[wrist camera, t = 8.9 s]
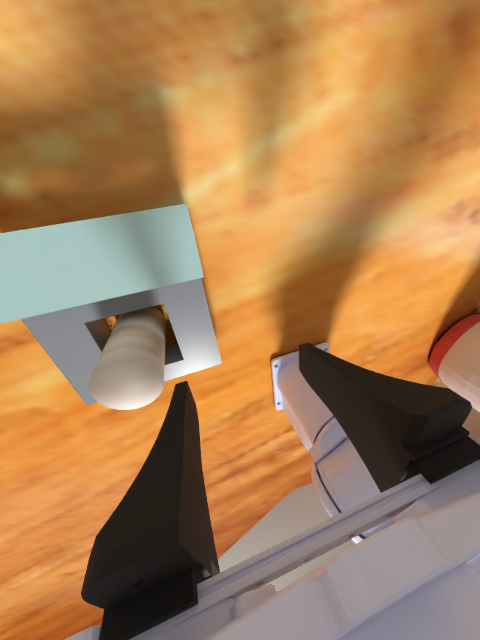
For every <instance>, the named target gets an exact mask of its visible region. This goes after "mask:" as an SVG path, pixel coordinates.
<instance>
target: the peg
mask: <svg viewBox="0 0 480 640" xmlns="http://www.w3.org/2000/svg"><path fill="white" fill-rule="evenodd" d="M165 336H166V320H165V317H164V315H163V314H162V312H161V311H160V310H159V309H157V308H156V307H154V306H152V307H148V308H144V309H140V310H135V311H131V312H127V313H123V314H120V315H119V317H118V320H117V322H116V324H115V326H114V328H113V330H112V332H111V334H110V336H109V339H108V341H107V343H106V345H105V347H104V349H103V351H102V353H101V355H100V357H99V360H98V362H97V364H96V366H95V368H94V370H93V372H92V374H91V376H90V379H89V383H88V388H89V392H90V394H91V395H92V397H93V398H94V399H95V400H96V401H97V402H98V403H100V404H102V405H104V406H106V407H109V408H112V409H119V410H130V409H136V408H140V407H143V406H145V405H147V404H149V403H151V402H152V401H154V400H155V399H156V398H157V397H158V396H159V395H160V393H161V392H162V390H163V386H164V366H165Z"/></svg>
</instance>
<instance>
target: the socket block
mask: <svg viewBox="0 0 480 640" xmlns="http://www.w3.org/2000/svg"><path fill="white" fill-rule="evenodd" d="M203 277H204V275H203V271H202V266H201V262H200V258H199V253H198V249H197V245H196V241H195V236H194V232H193V228H192V224H191V219H190V215H189V211H188V207H187V204H180V205H174V206H168V207H162V208H155V209H149V210H143V211H137V212H130V213H124V214H118V215H112V216H106V217H99V218H93V219H87V220H81V221H74V222H68V223H62V224H56V225H49V226H43V227H37V228H31V229H24V230H18V231H12V232H6V233H0V324H1V323H6V322H10V321H14V320H19V319H21V320H22V321H23V322H24V324H25V325H26V326H27V328H28V329H29V330H30V331H31V333H32V334H33V335H34V337H35V338H36V339H37V341H38V342H39V343H40V345H41V346H42V347H43V348H44V350H45V351H46V352H47V354H48V355H49V356H50V358H51V359H52V360H53V361H54V363H55V364H56V365H57V367H58V368H59V369H60V371H61V372H62V373H63V374H64V376H65V377H66V378H67V380H68V381H69V382H70V384H71V385H72V386H73V388H74V389H75V390H76V391H77V393H78V394H79V395H80V397H81V398H82V399H83V401H84V402H85V403H86V404H87V405H89V404H92V403H96V402H97V401H96V400H95V399H94V398H93V397H92V395H91V394H90V392H89V388H88V383H89V379H90V376H91V374H92V372H93V370H94V368H95V366H96V364H97V362H98V360H99V357H100V355H101V353H102V351H103V349H104V347H105V345H106V343H107V341H108V339H109V336H110V334H111V332H110V330H109V329H108V327H107V325H106V323H105V321H104V319H103V318H107V317H111V316H115V315H119V314H123V313H127V312H131V311H135V310H140V309H144V308H148V307H152V306H156V305H160V304H164V305H165V308H166V311H167V314H168V317H169V319H170V322H171V325H172V328H173V330H174V333H175V336H176V339H177V342H178V343H176V344H173V345H169V346H166V347H165V366H164V381H167V380H170V379H173V378H176V377H180V376H183V375H186V374H189V373H193V372H196V371H199V370H202V369H206V368H209V367H212V366H215V365H219V364H222V361H221V357H220V353H219V349H218V345H217V341H216V337H215V333H214V328H213V324H212V320H211V316H210V312H209V308H208V304H207V300H206V295H205V291H204V287H203V283H202V279H201V278H203Z"/></svg>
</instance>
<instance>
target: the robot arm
mask: <svg viewBox="0 0 480 640" xmlns="http://www.w3.org/2000/svg"><path fill="white" fill-rule="evenodd" d="M271 369H272V380H273V391H274V403H275V409H276V410H281V409H283V410H284V411H285V413H286V415H287V417H288V419H289V420H290V422H291V424H292V426H293V427H294V429H295V431H296V433H297V434H298V436H299V438H300V440H301V441H302V443H303V445H304V446H305V447H306V449H307V450H308V451H310V453H311V455H312V457H313V458H314V461H313V462H312V464H311V474H312V482H313V485H314V488H315V491H316V493H317V495H318V497H319V499H320V501H321V503H322V505H323V506H324V508H325V510H326V511H327V513H328V514H329V516H330V517H331V518H330V519H328V520H326V521H324V522H322V523H320V524H318V525H316V526H314V527H312V528H310V529H308V530H306V531H303V532H301V533H300V534H297V535H295V536H293V537H292V538H289V539H287V540H285V541H283V542H281V543H279V544H277V545H275V546H273V547H272V548H269V549H267V550H265V551H263V552H261V553H259V554H257V555H255V556H253V557H251V558H249V559H247V560H245V561H243V562H241V563H239V564H237V565H235V566H233V567H231V568H229V569H227V570H225V571H223V572H221V573H220V570H219V565H218V560H217V554H216V549H215V543H214V538H213V532H212V527H211V521H210V515H209V509H208V503H207V497H206V491H205V485H204V478H203V472H202V463H201V449H200V434H199V420H198V415H197V409H196V404H195V401H194V398H193V396H192V393H191V390H190V388H189V385H188V382H187V381H184V382H181V383H178V384H176V385H175V388H174V392H173V396H172V399H171V403H170V406H169V409H168V412H167V414H166V417H165V420H164V422H163V425H162V427H161V430H160V432H159V435H158V437H157V439H156V441H155V443H154V445H153V448H152V450H151V452H150V454H149V455H148V457H147V459H146V461H145V463H144V465H143V466H142V468H141V470H140V472H139V474H138V475H137V477H136V479H135V480H134V482H133V483H132V485H131V487H130V488H129V490H128V491H127V493H126V494H125V496H124V498H123V499H122V501H121V502H120V504H119V505H118V507H117V508H116V509H115V511H114V512H113V514H112V515H111V516H110V518H109V519H108V521H107V522H106V523H105V525H104V526H103V528H102V529H101V530H100V532H99V533H98V535H97V536H96V538H95V542H94V545H93V548H92V551H91V554H90V558H89V561H88V565H87V570H86V574H85V578H84V583H83V587H82V591H81V596H82V599H83V600H84V601H86V602H87V603H89V604H92V605H95V606H97V607H100V608H103V609H104V615H103V621H102V625H96V626H92V627H90V628H87V629H85V630H83V631H81V632H79V633H77V634H75V635H73V636H71V637H69V638H67V639H65V640H480V437H479V438H478V439H477V440H475V441H473V440H472V439H471V438H470V437H468V435H469V431H467V430H466V429H465V428H463V427H462V424H463V423H464V421H465V420H466V418H467V417H468V415H469V413H470V411H471V408H472V405H471V402H470V401H468V400H467V399H465V398H463V397H462V396H460V395H459V394H457V393H456V392H454V391H453V390H451V389H448V388H442V387H436V386H430V385H424V384H419V383H414V382H410V381H405V380H401V379H397V378H393V377H390V376H386V375H383V374H379V373H376V372H373V371H370V370H367V369H364V368H362V367H359V366H357V365H354V364H352V363H349V362H347V361H345V360H342V359H340V358H338V357H336V356H334V355H332V354H329V344H328V343H327V342H324V343H321V344H318V345H314V346H313V345H311V344H309V343H305V344H302V345H299V351H296V352H293V353H289V354H286V355H283V356H280V357H277V358H274V359H272V361H271ZM349 540H353V542H354V543H355V545H353V546H351V547H349V548H347V549H346V550H344V551H342V552H341V553H339V554H338V555H336V556H334V557H332V558H331V559H329V560H328V561H326V562H324V563H323V564H321V565H320V566H318V567H316V568H315V569H313V570H312V571H310V572H308V573H307V574H305V575H304V576H302V577H301V578H299V579H298V580H296V581H294V582H293V583H291V584H290V585H288V586H287V587H285V588H283V589H282V590H280V591H279V592H277V593H276V591H275V587H274V585H272V584H269V585H266V586H263V585H265V584H267V583H269V582H271V581H273V580H275V579H277V578H278V577H280V576H282V575H284V574H286V573H288V572H290V571H292V570H294V569H296V568H297V567H299V566H301V565H303V564H305V563H307V562H309V561H311V560H312V559H314V558H316V557H318V556H320V555H322V554H324V553H326V552H328V551H330V550H332V549H333V548H335V547H337V546H339V545H341V544H343V543H345V542H347V541H349ZM261 586H263V587H261Z"/></svg>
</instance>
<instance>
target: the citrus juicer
mask: <svg viewBox="0 0 480 640" xmlns="http://www.w3.org/2000/svg"><path fill="white" fill-rule="evenodd" d="M432 350H433V351H432V353H431V356H430V360H429V365H430V368H431V369H432V370H433V372H434V373H435V374H436V376H437V377H438V378H439V379H440V380H441V381H443V382H444V383H445V384H446V385H447V386H448V387H449V388H450V389H451V390H453V391H454V392H456V393H457V394H459V395H460V396H462V397H463V398H465V399H467V400H468V401H470V402H471V405H472V407H474V408H475V409H476V410H478V411H479V412H480V314H475V315H471V316H468V317H466V318H464V319H462V320H461V321H459V322H458V323H456V324H455V325H454V326H453V327H451V328H450V329H449V330H448V331H447V332H446V333H445V334H444V335H443V336H442V338H441V339H440V340H439V341H438V342H437V343H435V345H434V346H433V348H432Z"/></svg>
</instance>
